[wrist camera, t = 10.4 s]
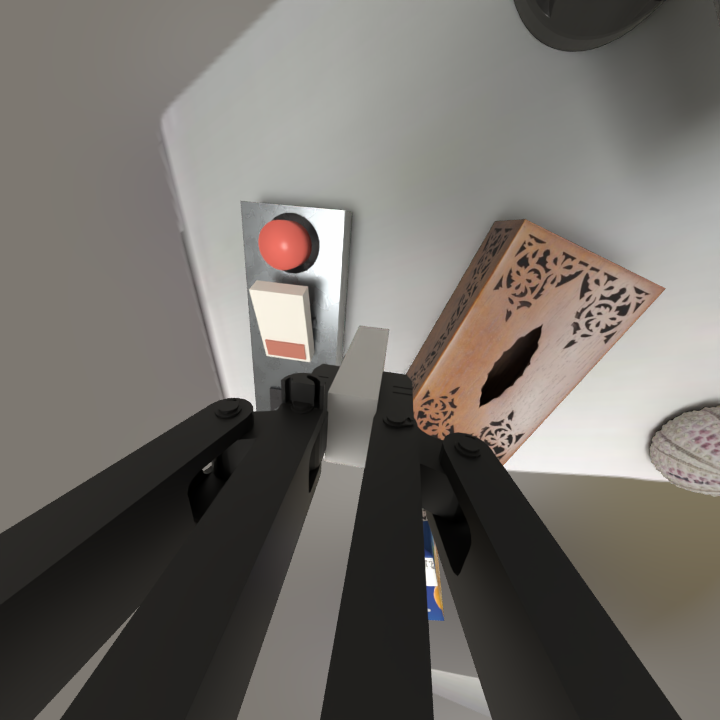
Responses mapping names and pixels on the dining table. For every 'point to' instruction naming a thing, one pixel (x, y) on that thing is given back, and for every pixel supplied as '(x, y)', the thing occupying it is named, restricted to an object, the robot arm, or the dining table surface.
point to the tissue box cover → (521, 335)
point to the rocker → (284, 319)
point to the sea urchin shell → (690, 451)
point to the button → (284, 244)
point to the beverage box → (432, 574)
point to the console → (318, 273)
